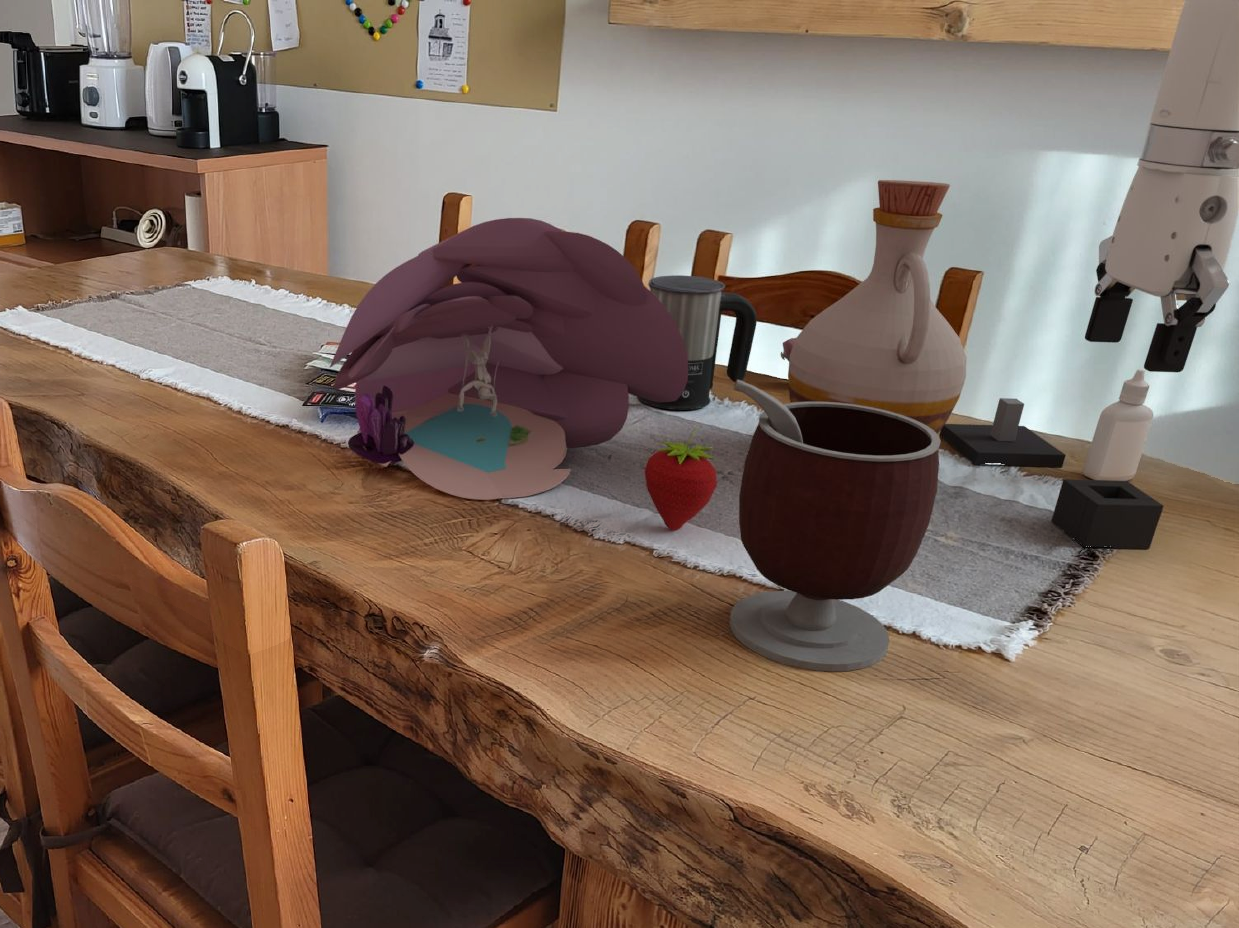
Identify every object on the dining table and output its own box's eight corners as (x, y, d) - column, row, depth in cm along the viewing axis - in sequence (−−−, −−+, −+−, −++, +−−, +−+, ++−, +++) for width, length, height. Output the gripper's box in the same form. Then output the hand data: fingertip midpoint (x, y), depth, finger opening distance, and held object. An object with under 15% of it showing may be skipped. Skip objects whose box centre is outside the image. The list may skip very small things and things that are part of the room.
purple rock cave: (388, 566, 113) (393, 293, 95) (289, 447, 128) (277, 192, 110) (674, 478, 127) (726, 226, 109) (554, 380, 142) (582, 145, 124)
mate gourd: (883, 603, 98) (936, 371, 89) (913, 687, 86) (978, 428, 77) (697, 583, 101) (731, 355, 92) (700, 662, 88) (739, 407, 79)
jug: (971, 506, 119) (1051, 199, 106) (796, 498, 119) (853, 191, 106) (910, 442, 137) (972, 172, 123) (758, 435, 137) (802, 164, 123)
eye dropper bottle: (1141, 487, 126) (1176, 378, 121) (1085, 481, 127) (1118, 373, 122) (1129, 473, 130) (1162, 367, 124) (1075, 467, 131) (1106, 362, 125)
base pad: (1021, 437, 140) (1034, 389, 137) (1062, 467, 131) (1077, 416, 128) (939, 435, 139) (950, 386, 137) (975, 465, 130) (988, 413, 128)
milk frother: (661, 415, 142) (676, 292, 136) (594, 379, 155) (605, 265, 148) (755, 404, 148) (774, 285, 141) (683, 370, 161) (698, 260, 154)
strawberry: (670, 510, 115) (683, 412, 111) (723, 537, 110) (739, 436, 105) (623, 520, 112) (635, 421, 108) (676, 549, 107) (690, 446, 102)
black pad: (1113, 522, 117) (1127, 480, 114) (1149, 549, 111) (1164, 505, 109) (1050, 521, 116) (1063, 479, 114) (1083, 548, 111) (1097, 504, 109)
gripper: (1309, 166, 89) (1232, 385, 96) (1176, 142, 104) (1119, 332, 112) (1213, 162, 88) (1144, 382, 96) (1094, 139, 104) (1042, 330, 111)
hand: (1130, 355), depth 104 cm, fingers open, 9 cm apart
